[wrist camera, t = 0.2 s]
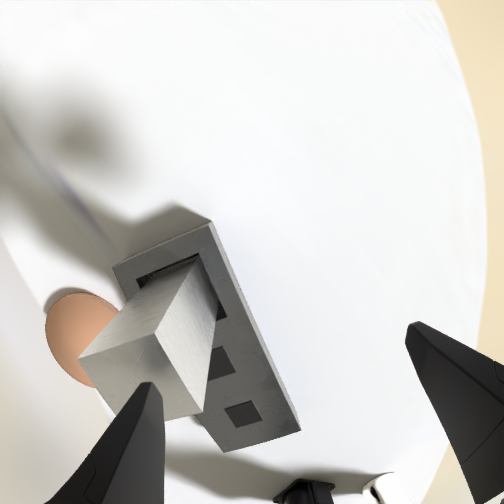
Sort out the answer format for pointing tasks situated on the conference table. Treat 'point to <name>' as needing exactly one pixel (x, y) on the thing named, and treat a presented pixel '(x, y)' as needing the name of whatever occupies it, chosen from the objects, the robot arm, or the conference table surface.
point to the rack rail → (224, 347)
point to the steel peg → (159, 342)
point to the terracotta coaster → (76, 329)
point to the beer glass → (385, 490)
